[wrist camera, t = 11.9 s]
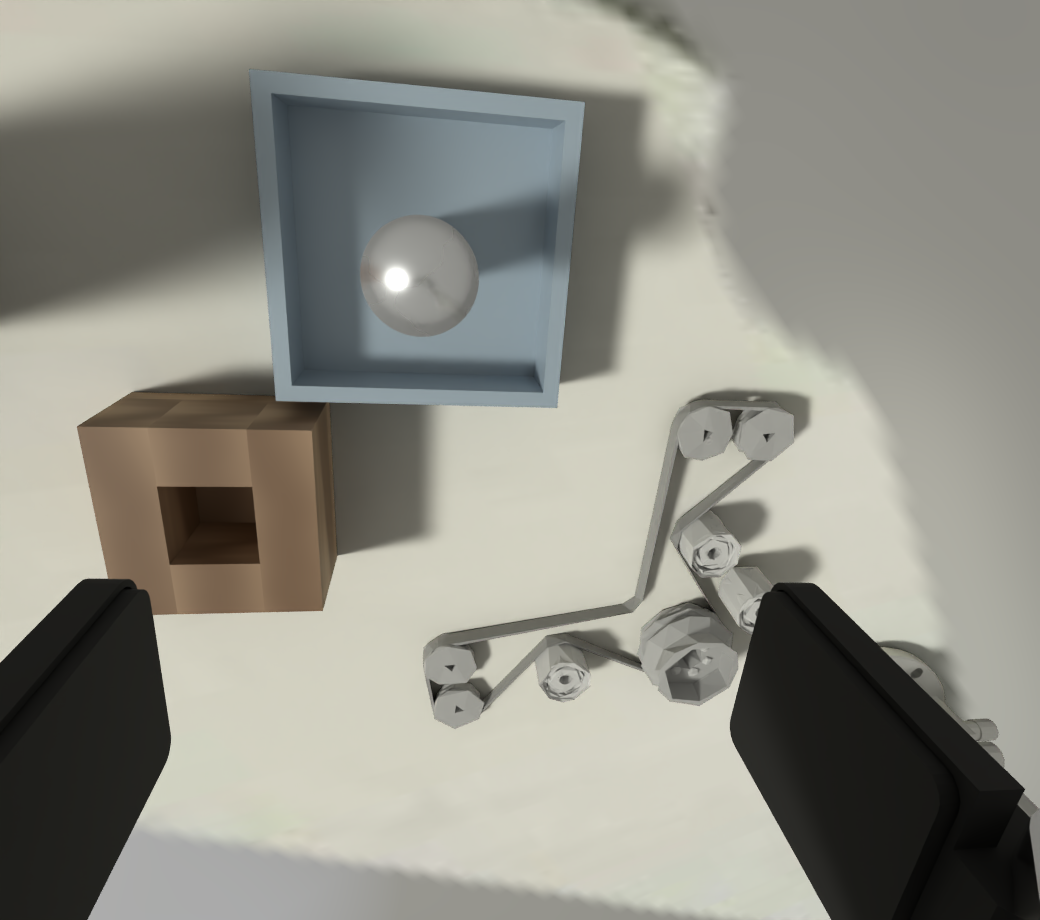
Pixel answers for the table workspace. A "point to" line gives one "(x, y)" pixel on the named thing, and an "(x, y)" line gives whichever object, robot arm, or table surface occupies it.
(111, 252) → the table surface
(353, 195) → the pin tray
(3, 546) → the table surface
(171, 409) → the block
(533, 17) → the table surface
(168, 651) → the table surface
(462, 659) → the pulley system
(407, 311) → the lock pin
